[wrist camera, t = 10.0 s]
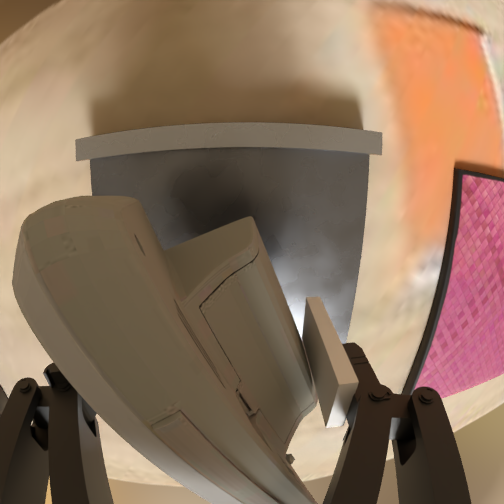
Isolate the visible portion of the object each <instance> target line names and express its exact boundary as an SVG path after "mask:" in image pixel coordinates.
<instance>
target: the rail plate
mask: <svg viewBox="0 0 504 504" xmlns="http://www.w3.org/2000/svg"><path fill="white" fill-rule="evenodd" d="M369 154H370V155H382V133H381V132H374V131H367V130H360V129H352V128H343V127H333V126H322V125H310V124H293V123H264V122H231V123H202V124H186V125H173V126H162V127H152V128H143V129H135V130H128V131H121V132H114V133H108V134H102V135H97V136H91V137H86V138H81V139H76V161H83V160H90V170H91V185H92V196H128V197H132V198H135V199H137V200H139V201H140V203H141V204H142V207H143V209H144V211H145V213H146V215H147V217H148V219H149V221H150V223H151V225H152V228H153V230H154V232H155V234H156V236H157V238H158V240H159V242H160V244H161V246H162V248H163V250H167V249H169V248H171V247H174V246H176V245H179V244H181V243H183V242H186V241H188V240H191V239H193V238H195V237H198V236H200V235H203V234H205V233H207V232H210V231H212V230H215V229H217V228H220V227H222V226H225V225H227V224H230V223H232V222H235V221H237V220H240V219H242V218H245V217H249V216H251V217H253V219H254V221H255V224H256V226H257V229H258V231H259V234H260V236H261V239H262V241H263V244H264V246H265V248H266V251H267V253H268V256H269V258H270V261H271V263H272V266H273V268H274V271H275V273H276V276H277V278H278V281H279V283H280V286H281V288H282V291H283V293H284V296H285V298H286V301H287V303H288V306H289V308H290V311H291V313H292V316H293V318H294V321H295V323H296V326H297V329H298V331H299V334H300V336H301V339H302V332H303V323H304V313H305V303H306V297H320V298H321V300H322V302H323V304H324V307H325V309H326V311H327V313H328V315H329V317H330V319H331V321H332V324H333V326H334V328H335V330H336V332H337V334H338V336H339V339H340V341H341V343H342V344H344V343H346V340H347V335H348V330H349V325H350V320H351V315H352V310H353V304H354V299H355V293H356V287H357V280H358V274H359V267H360V260H361V252H362V244H363V235H364V226H365V216H366V204H367V191H368V175H369Z"/></svg>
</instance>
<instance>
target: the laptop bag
mask: <svg viewBox="0 0 504 504" xmlns="http://www.w3.org/2000/svg"><path fill="white" fill-rule="evenodd" d="M503 373H504V179H503V178H499V177H495V176H490V175H486V174H481V173H477V172H472V171H467V170H462V169H455V168H454V180H453V193H452V204H451V213H450V221H449V228H448V235H447V241H446V247H445V253H444V258H443V263H442V268H441V273H440V277H439V282H438V286H437V290H436V294H435V298H434V302H433V306H432V309H431V313H430V317H429V320H428V323H427V327H426V330H425V333H424V336H423V339H422V342H421V345H420V348H419V350H418V353H417V356H416V359H415V361H414V364H413V367H412V369H411V372H410V374H409V377H408V379H407V382H406V384H405V387H404V389H403V391H402V394H401V395H412V393H413V391H414V390H415V389H416V388H418V387H422V386H426V387H430V388H433V389H434V390H436V391H437V392H438V393H439V395H440V397H441V398H444V397H447V396H450V395H453V394H456V393H458V392H461V391H464V390H466V389H469V388H472V387H474V386H476V385H479V384H481V383H484V382H486V381H488V380H491V379H493V378H495V377H497V376H499V375H501V374H503Z"/></svg>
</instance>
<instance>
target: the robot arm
mask: <svg viewBox="0 0 504 504" xmlns="http://www.w3.org/2000/svg"><path fill="white" fill-rule="evenodd" d="M302 341H303V344H304V348H305V352H306V355H307V359H308V362H309V366H310V370H311V373H312V377H313V381H314V384H315V388H316V392H317V396H318V399H319V403H320V407H321V411H322V415H323V418H324V422H325V426H326V428H330V427H337V426H343V425H344V423H345V420H346V418H347V421H348V424H349V427H348V429H347V431H346V434H345V436H344V438H343V440H344V442H343V446H342V449H341V452H340V456H339V459H338V462H337V465H336V468H335V471H334V474H333V477H332V480H331V483H330V486H329V488H328V491H327V494H326V496H325V499H324V501H323V504H376V503H377V499H378V495H379V491H380V486H381V482H382V477H383V472H384V467H385V461H386V456H387V450H388V443H389V439H390V440H392V445H393V452H394V459H395V467H396V476H397V485H398V496H399V504H471V500H470V495H469V490H468V485H467V481H466V477H465V473H464V469H463V465H462V461H461V458H460V454H459V451H458V447H457V444H456V441H455V438H454V435H453V431H452V428H451V425H450V422H449V419H448V416H447V413H446V411H445V408H444V405H443V402H442V400H441V397H440V395H439V393H438V392H437V391H436V390H434V389H433V388H430V387H426V386H422V387H418V388H416V389H415V390H414V391H413V393H412V395H401V394H393V393H392V391H391V390H390V389H389V388H388V387H386V386H385V385H381V384H380V383H379V381H378V379H377V377H376V375H375V373H374V371H373V369H372V367H371V365H370V363H369V361H368V359H367V357H366V356H365V354H364V352H363V350H362V348H361V347H359V346H358V345H357V344H356V343H344V344H342V343H341V341H340V339H339V336H338V334H337V332H336V330H335V328H334V326H333V324H332V321H331V319H330V317H329V315H328V313H327V311H326V309H325V307H324V304H323V302H322V300H321V298H320V297H306V303H305V313H304V323H303V332H302ZM43 374H44V376H45V378H46V380H47V382H48V384H49V385H50V386H38V384H37V382H36V381H35V380H34V379H32V378H24V379H21V380H20V381H18V382H17V383H16V385H15V386H14V388H13V390H12V392H11V394H10V397H9V399H7V397H6V395H5V393H4V391H3V390H2V388H1V387H0V504H45V499H46V492H47V485H48V479H49V476H50V487H51V496H52V504H114V503H113V499H112V495H111V491H110V487H109V483H108V478H107V474H106V469H105V464H104V459H103V453H102V447H101V441H100V434H99V427H98V422H97V419H96V417H95V416H96V414H97V413H96V412H95V411H94V410H93V409H92V407H91V406H90V405H89V404H88V403H87V402H86V401H85V400H84V399H83V398H82V396H81V395H80V394H79V393H78V392H77V391H76V390H75V388H74V387H73V386H72V385H71V384H70V382H69V381H68V380H67V379H66V378H65V376H64V375H63V374H62V372H61V371H60V370H59V369H58V367H57V366H56V365H55V363H52V364H50V365H48V366H47V367H46V368H45V370H44V372H43ZM32 421H33V424H32V425H31V422H32Z"/></svg>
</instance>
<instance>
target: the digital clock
mask: <svg viewBox="0 0 504 504" xmlns="http://www.w3.org/2000/svg"><path fill="white" fill-rule="evenodd" d="M12 285H13V290H14V295H15V298H16V300H17V302H18V305H19V307H20V309H21V311H22V313H23V315H24V317H25V319H26V321H27V322H28V324H29V326H30V328H31V329H32V331H33V333H34V334H35V336H36V337H37V339H38V340H39V342H40V343H41V345H42V346H43V348H44V349H45V351H46V352H47V353H48V355H49V356H50V358H51V359H52V360H53V362H54V363H55V365H56V366H57V367H58V369H59V370H60V371H61V372H62V374H63V375H64V376H65V378H66V379H67V380H68V381H69V382H70V384H71V385H72V386H73V387H74V388H75V390H76V391H77V392H78V393H79V394H80V395H81V396H82V398H83V399H84V400H85V401H86V402H87V403H88V404H89V405H90V406H91V407H92V409H93V410H94V411H95V412H96V413H97V414H98V415H99V416H100V417H101V418H102V419H103V420H104V421H105V422H106V423H107V424H108V425H109V426H110V427H111V428H112V429H113V430H114V431H116V432H117V433H118V434H119V435H120V436H121V437H122V438H123V439H124V440H125V441H126V442H128V443H129V444H130V445H131V446H132V447H133V448H134V449H136V450H137V451H138V452H139V453H140V454H142V455H143V456H144V457H145V458H146V459H148V460H149V461H150V462H152V463H153V464H154V465H155V466H157V467H158V468H159V469H161V470H162V471H163V472H165V473H166V474H167V475H169V476H170V477H171V478H173V479H174V480H176V481H177V482H179V483H180V484H181V485H183V486H184V487H186V488H187V489H189V490H191V491H192V492H194V493H195V494H197V495H198V496H200V497H202V498H203V499H205V500H207V501H208V502H210V503H212V504H317V502H316V501H315V499H314V498H313V497H312V495H311V494H310V492H309V491H308V490H307V488H306V487H305V485H304V484H303V482H302V481H301V479H300V478H299V477H298V475H297V474H296V472H295V471H294V469H293V468H292V466H291V465H290V464H292V463H293V461H294V460H295V459H294V457H293V456H292V454H286V451H287V449H288V446H289V443H290V441H291V439H292V437H293V435H294V433H295V431H296V429H297V427H298V425H299V423H300V422H301V421H302V419H303V418H304V417H305V416H306V415H307V414H309V413H310V412H311V411H312V410H313V409H314V408H315V407H316V405H317V401H318V396H317V392H316V388H315V384H314V381H313V377H312V373H311V370H310V366H309V362H308V359H307V355H306V352H305V348H304V344H303V341H302V339H301V336H300V334H299V331H298V329H297V326H296V323H295V321H294V318H293V316H292V313H291V311H290V308H289V306H288V303H287V301H286V298H285V296H284V293H283V291H282V288H281V286H280V283H279V281H278V278H277V276H276V273H275V271H274V268H273V266H272V263H271V261H270V258H269V256H268V253H267V251H266V248H265V246H264V244H263V241H262V239H261V236H260V234H259V231H258V229H257V226H256V224H255V221H254V219H253V217H251V216H249V217H245V218H242V219H240V220H237V221H235V222H232V223H230V224H227V225H225V226H222V227H220V228H217V229H215V230H212V231H210V232H207V233H205V234H203V235H200V236H198V237H195V238H193V239H191V240H188V241H186V242H183V243H181V244H179V245H176V246H174V247H171V248H169V249H167V250H163V248H162V246H161V244H160V242H159V240H158V238H157V236H156V234H155V232H154V230H153V228H152V225H151V223H150V221H149V219H148V217H147V215H146V213H145V211H144V209H143V207H142V204H141V203H140V201H139V200H137V199H135V198H132V197H128V196H79V197H73V198H69V199H64V200H60V201H55V202H53V203H51V204H49V205H47V206H44V207H42V208H40V209H38V210H37V211H35V212H34V213H32V214H30V215H29V216H28V217H27V218H26V219H25V220H24V222H23V224H22V226H21V231H20V235H19V239H18V244H17V249H16V255H15V262H14V270H13V280H12Z"/></svg>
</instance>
